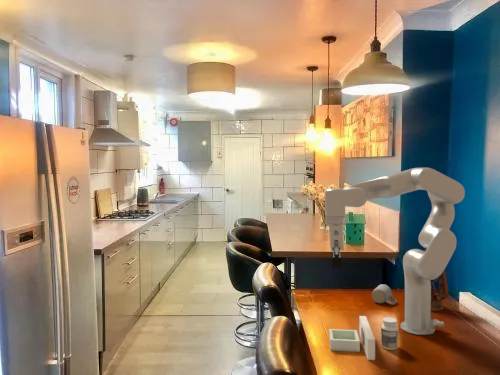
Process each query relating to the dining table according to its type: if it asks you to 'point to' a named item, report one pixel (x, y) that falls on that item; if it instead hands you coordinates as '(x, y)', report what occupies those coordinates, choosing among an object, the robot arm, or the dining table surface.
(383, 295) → the ceramic mug
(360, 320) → the board
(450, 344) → the dining table surface
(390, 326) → the pill bottle
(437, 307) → the lantern
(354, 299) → the dining table surface
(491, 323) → the dining table surface
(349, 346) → the pale green square tray
